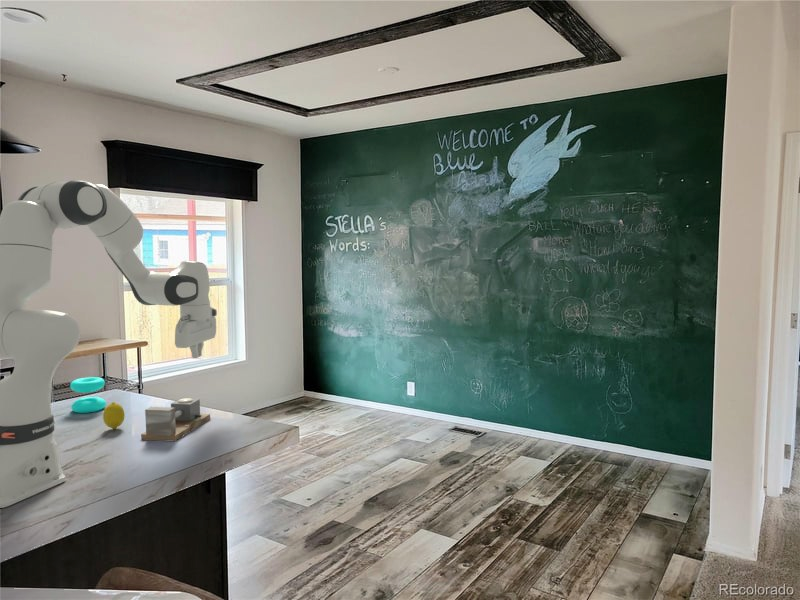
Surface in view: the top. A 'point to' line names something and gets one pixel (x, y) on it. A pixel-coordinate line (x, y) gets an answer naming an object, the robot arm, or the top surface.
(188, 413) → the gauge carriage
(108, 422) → the lemon
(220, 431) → the top surface
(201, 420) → the bench
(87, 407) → the donuts
